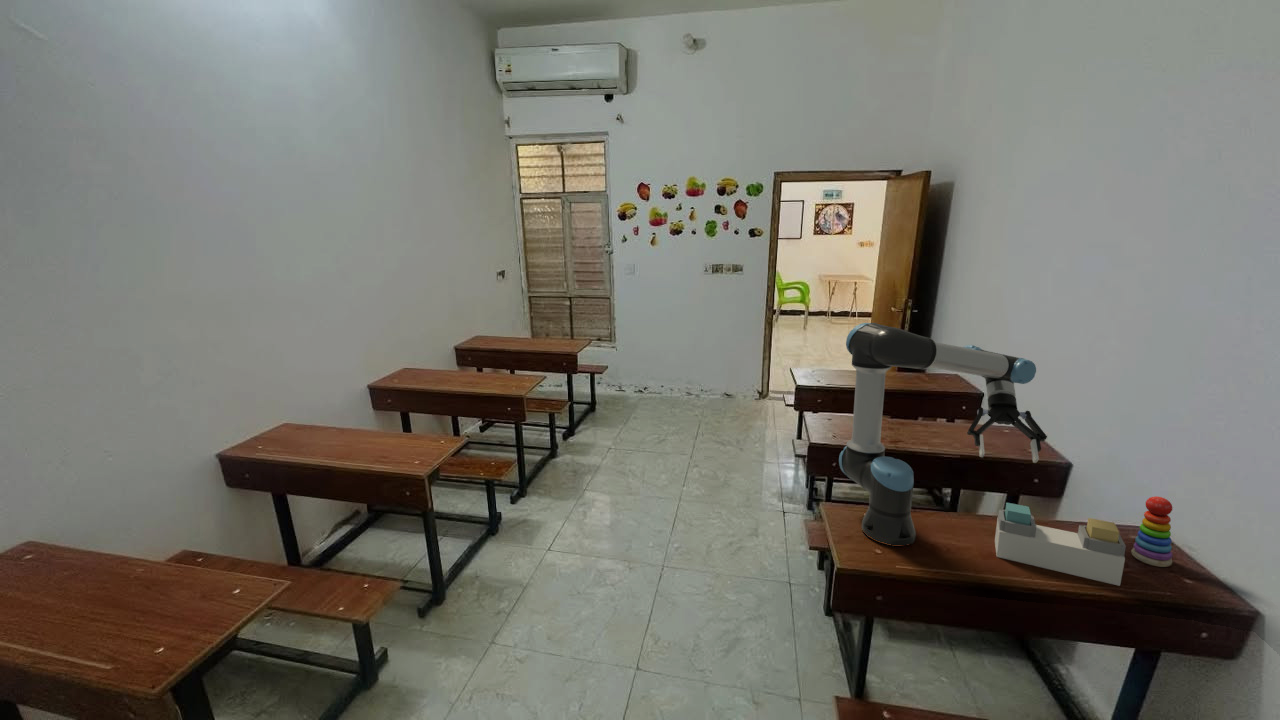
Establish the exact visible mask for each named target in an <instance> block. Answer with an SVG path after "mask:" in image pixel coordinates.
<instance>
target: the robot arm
mask: <svg viewBox="0 0 1280 720" xmlns="http://www.w3.org/2000/svg"><path fill="white" fill-rule="evenodd" d="M845 346H846V350H847V351H848V352H849V354H850V355H851V356H852V357H851V366H852V367H853V369H855V370H856V371H855V372H856V373H855V387H854V388H855V389H854V402H853V417H852V431H851V432H852V433H851V439H850V440H848V441H847V442H846V446H844V447H843V450H841V452H840V453H839V457H838V464H839V468H840V470H841V472H842V473H843V474H844V475H845V476H846V477H847V478H849V480H851V481H853V482H854V483H856V484H857V485H859V486H860V487H862V489H864V490H865V491H866V492H868V493H869V498H868V499H869V500H868V508H867V510H866V512H865V514H864V516H863V518H862V520H861V528H862V529H863V531H864V532H865V533H866V534H867V535H868V536H870V537H872V538H873V539H875V540H877V541H880V542H884V543H887V544H891V545H907V544H911V543H912V544H914V543H915V541H916V529H915V525H914V521H913V519H912V514H911V513H912V505H913V502H912V501H913V492H914V483H915V479H914V471H913V468H912V467H911V466H910V465H909V464H908V463H907V462H905V461H903V460H901V459H899V458H894V457H892V456H885V454H886V453H885V451H886V447H885V446H884V445H883V443H882V442H881V438H882V437H881V435H882V423H883V411H884V400H885V387H886V374H887V371H890V369H892V367H894V368H895V367H896V368H898V367H899V368H906V369H907V368H908V369H917V370H926V369H929V368H931V369H938V370H944V371H949V372H956V373H962V374H968V375H972V376H973V375H975V376H979V377H982V378H983V379H985V387H986V396H987V408H988V409H985V408H983V407H979V408H978V409H977V411H976V417H975V418H974V419H973V422H972V423H971V424H970V427H968V430H967V433H966V435H969V436H972V437H973V438H974V445H975V446H976V447H978V452H979V453H978V454H979V457H980V458H984V456H985V444H984V443H985V441H984V435H983V433H984V432H986V430H987V429H988V428H990V427H991V426H992V425H993V424H995V423H996V424H997V425H1008V426H1009V425H1012V426H1013V427H1015V428H1017V429H1018V430H1019V432H1021V434H1024V435H1025V436H1026V437H1027V438H1028V439H1029V440H1031V441H1030V443H1029V444H1030V451H1031V459H1032V463H1034V464H1036V463H1037V462H1038V461H1039V460H1040V458H1039V452H1040V451H1041V450H1042V446H1041V443H1042V442H1043V443H1044V442H1045V441H1046V440H1047V439H1048V436H1047V435H1046V433H1045V432H1044V431H1043V429H1042V428H1041V426H1040V425H1039V424H1038V423H1037V422H1036V421H1035V419H1034V417H1032V414H1031V411H1029V410H1025V411H1019V410H1018V404H1017V397H1016V390H1015V384H1020V385H1025V384H1029V383H1030V382H1031V381H1033V379H1034V378H1035V375H1036V374H1037V367H1036V364H1035V363H1034V362H1033V361H1032V360H1029V359H1025V358H1023V357H1018V356H1014V355H1013V356H1012V355H1007V354H1004V353H998V352H993V351H990V350H989V351H988V350H984V349H982V348H981V347H980V346H976V345H973V344H968V345H965V346H963V347H962V346H957V345H951V344H947V343H946V344H945V343H941V342H936V341H935V340H934V339H933V338H931V337H928V336H923V335H919V334H916V333H913V332H910V331H907V330H904V329H901V328H897V327H893V326H888V325H884V324H881V323H880V324H879V323H876V322H863V323H859V324H858V325H855V326H854V327H853V328H852V329H851V330H850V331H849V333H848V334H847V336H846V340H845ZM985 415H987V416H988V417H989V419H988V420H987V421H986V422H984V423H983V425H981V426H980V427H979V428H978V429H976V427H977V426H978V424H979V422H980V421H981V419H982V418H983V417H985ZM1019 417H1021V419H1022V420H1024V421H1025V423H1026V424H1027V425H1026V424H1025V423H1023V421H1022V420H1021V419H1020V418H1019ZM862 529H861V530H862ZM912 544H911V545H912Z"/></svg>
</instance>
